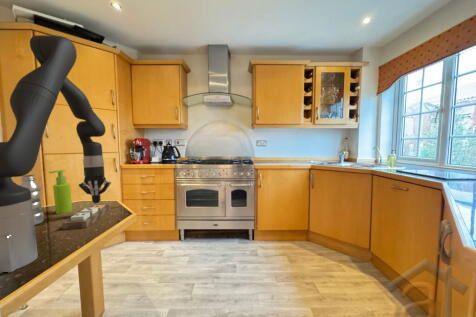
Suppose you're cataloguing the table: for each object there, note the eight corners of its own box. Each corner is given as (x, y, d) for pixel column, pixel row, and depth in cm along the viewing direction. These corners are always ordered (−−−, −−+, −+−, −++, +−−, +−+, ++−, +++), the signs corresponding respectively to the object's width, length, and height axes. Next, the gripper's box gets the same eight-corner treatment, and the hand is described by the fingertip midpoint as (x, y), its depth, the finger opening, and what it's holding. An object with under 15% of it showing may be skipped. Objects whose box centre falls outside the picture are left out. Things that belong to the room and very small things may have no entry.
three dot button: (92, 217, 86) (92, 210, 85) (81, 218, 85) (80, 211, 85) (98, 213, 90) (97, 206, 90) (87, 214, 89) (86, 207, 89)
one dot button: (100, 214, 92) (100, 207, 92) (89, 215, 91) (89, 208, 91) (105, 210, 97) (104, 204, 96) (94, 211, 96) (94, 205, 96)
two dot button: (84, 223, 79) (83, 216, 79) (71, 224, 79) (70, 216, 78) (90, 219, 84) (89, 211, 83) (78, 220, 83) (77, 212, 83)
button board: (86, 227, 78) (86, 221, 78) (63, 229, 77) (62, 223, 76) (111, 209, 99) (110, 204, 98) (92, 210, 97) (92, 205, 97)
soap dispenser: (50, 214, 93) (45, 171, 91) (66, 209, 100) (62, 168, 98) (59, 215, 91) (54, 171, 90) (75, 210, 98) (71, 169, 96)
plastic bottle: (49, 221, 85) (44, 174, 83) (31, 228, 78) (25, 177, 76) (35, 221, 85) (30, 174, 83) (16, 228, 78) (10, 177, 77)
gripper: (72, 167, 87) (75, 206, 88) (105, 165, 89) (108, 204, 91) (82, 165, 94) (85, 201, 96) (113, 164, 97) (115, 199, 98)
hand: (96, 202), depth 93 cm, fingers closed
